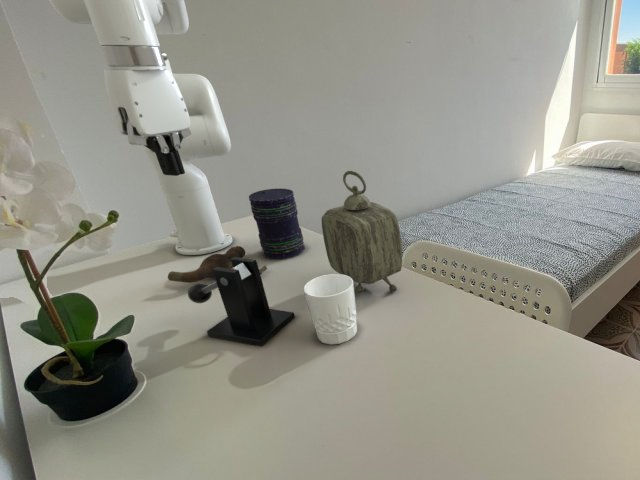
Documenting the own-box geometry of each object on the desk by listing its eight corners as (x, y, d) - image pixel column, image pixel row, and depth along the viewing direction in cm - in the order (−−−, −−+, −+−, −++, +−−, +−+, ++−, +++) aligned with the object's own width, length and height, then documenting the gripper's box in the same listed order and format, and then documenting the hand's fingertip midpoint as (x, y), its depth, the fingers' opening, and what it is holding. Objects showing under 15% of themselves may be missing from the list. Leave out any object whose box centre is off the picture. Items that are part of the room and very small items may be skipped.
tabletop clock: (405, 291, 87) (395, 173, 75) (370, 309, 81) (353, 183, 69) (364, 270, 95) (349, 161, 84) (329, 285, 89) (308, 170, 77)
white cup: (369, 332, 74) (362, 284, 69) (328, 353, 68) (318, 302, 64) (345, 315, 78) (337, 269, 74) (306, 333, 73) (295, 285, 69)
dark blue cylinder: (313, 248, 106) (302, 192, 99) (279, 263, 98) (265, 203, 91) (289, 240, 110) (276, 186, 103) (254, 254, 103) (239, 196, 96)
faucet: (223, 257, 101) (283, 266, 100) (170, 288, 85) (239, 299, 85) (221, 239, 99) (281, 249, 98) (165, 267, 83) (236, 279, 83)
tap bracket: (208, 336, 72) (184, 272, 66) (245, 309, 80) (227, 250, 74) (262, 346, 70) (242, 280, 64) (295, 317, 78) (280, 256, 72)
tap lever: (192, 309, 74) (179, 293, 73) (208, 299, 77) (195, 283, 76) (241, 284, 68) (227, 266, 67) (256, 275, 71) (243, 257, 70)
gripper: (159, 59, 73) (192, 163, 81) (65, 59, 60) (116, 183, 68) (194, 59, 71) (224, 166, 79) (106, 59, 58) (152, 187, 66)
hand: (174, 174), depth 74 cm, fingers closed
